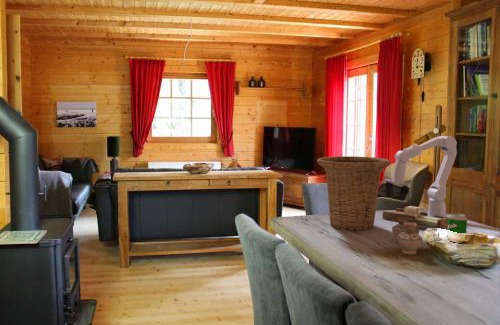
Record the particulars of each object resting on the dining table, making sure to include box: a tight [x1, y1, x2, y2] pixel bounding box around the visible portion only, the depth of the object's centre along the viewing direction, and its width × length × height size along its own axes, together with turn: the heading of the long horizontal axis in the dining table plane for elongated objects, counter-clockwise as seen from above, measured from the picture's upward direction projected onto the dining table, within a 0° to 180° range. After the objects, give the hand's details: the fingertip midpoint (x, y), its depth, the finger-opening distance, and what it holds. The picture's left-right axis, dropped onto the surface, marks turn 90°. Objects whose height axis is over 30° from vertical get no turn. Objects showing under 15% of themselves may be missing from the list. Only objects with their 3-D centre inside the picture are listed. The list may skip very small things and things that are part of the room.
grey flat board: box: [413, 216, 445, 231], centre depth 240 cm, size 29×12×2 cm, turn 133°
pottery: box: [391, 217, 424, 255], centre depth 198 cm, size 11×25×12 cm, turn 169°
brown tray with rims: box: [382, 207, 448, 229], centre depth 246 cm, size 16×32×4 cm, turn 43°
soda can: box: [447, 212, 468, 234], centre depth 206 cm, size 8×8×12 cm
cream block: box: [403, 205, 421, 218], centre depth 248 cm, size 6×6×4 cm
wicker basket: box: [316, 155, 391, 231], centre depth 236 cm, size 35×35×33 cm
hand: (394, 198), depth 253 cm, fingers open, 7 cm apart
